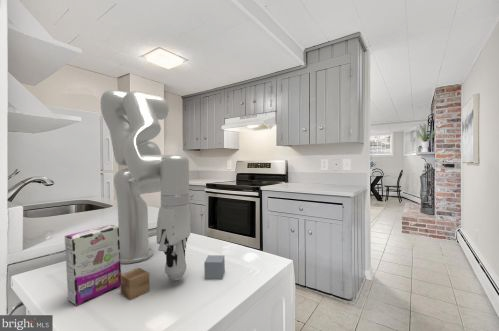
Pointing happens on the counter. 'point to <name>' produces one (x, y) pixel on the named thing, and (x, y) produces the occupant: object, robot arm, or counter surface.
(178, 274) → the salt shaker
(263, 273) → the counter surface
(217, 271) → the slate-grey block
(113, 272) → the candy bar box
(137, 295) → the walnut block
